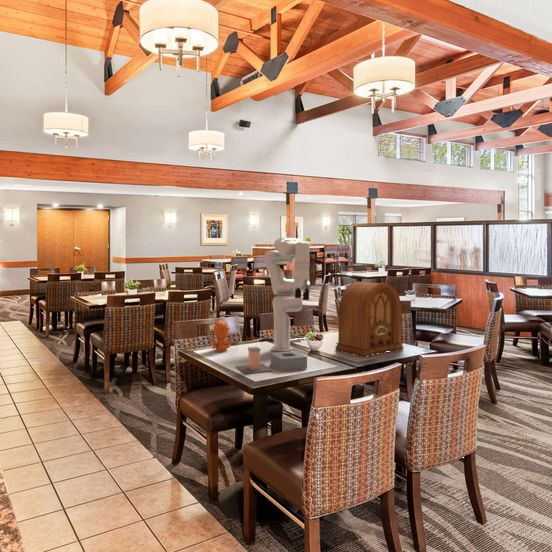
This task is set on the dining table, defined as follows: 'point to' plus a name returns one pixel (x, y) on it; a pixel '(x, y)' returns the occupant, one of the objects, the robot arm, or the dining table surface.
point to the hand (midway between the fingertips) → (302, 298)
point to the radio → (369, 319)
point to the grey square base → (288, 360)
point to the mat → (247, 370)
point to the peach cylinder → (254, 357)
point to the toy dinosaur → (221, 336)
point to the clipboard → (290, 338)
